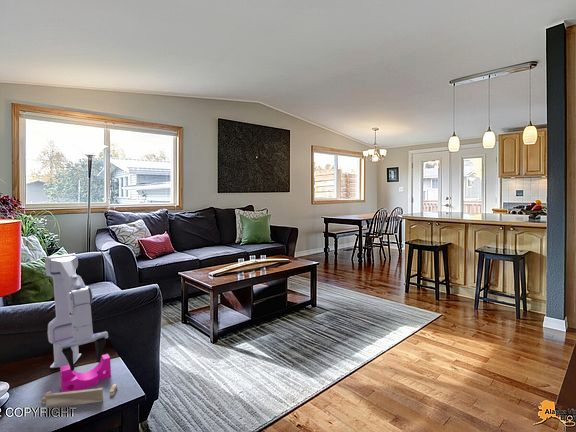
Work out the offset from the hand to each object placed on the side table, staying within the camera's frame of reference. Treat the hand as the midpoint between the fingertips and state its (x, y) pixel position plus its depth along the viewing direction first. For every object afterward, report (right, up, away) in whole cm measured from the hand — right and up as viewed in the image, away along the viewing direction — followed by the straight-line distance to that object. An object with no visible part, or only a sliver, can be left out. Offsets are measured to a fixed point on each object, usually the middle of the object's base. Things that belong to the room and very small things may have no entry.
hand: (85, 365), depth 114 cm
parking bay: (-2, -10, 0) cm, 11 cm away
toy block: (-4, -10, +8) cm, 14 cm away
